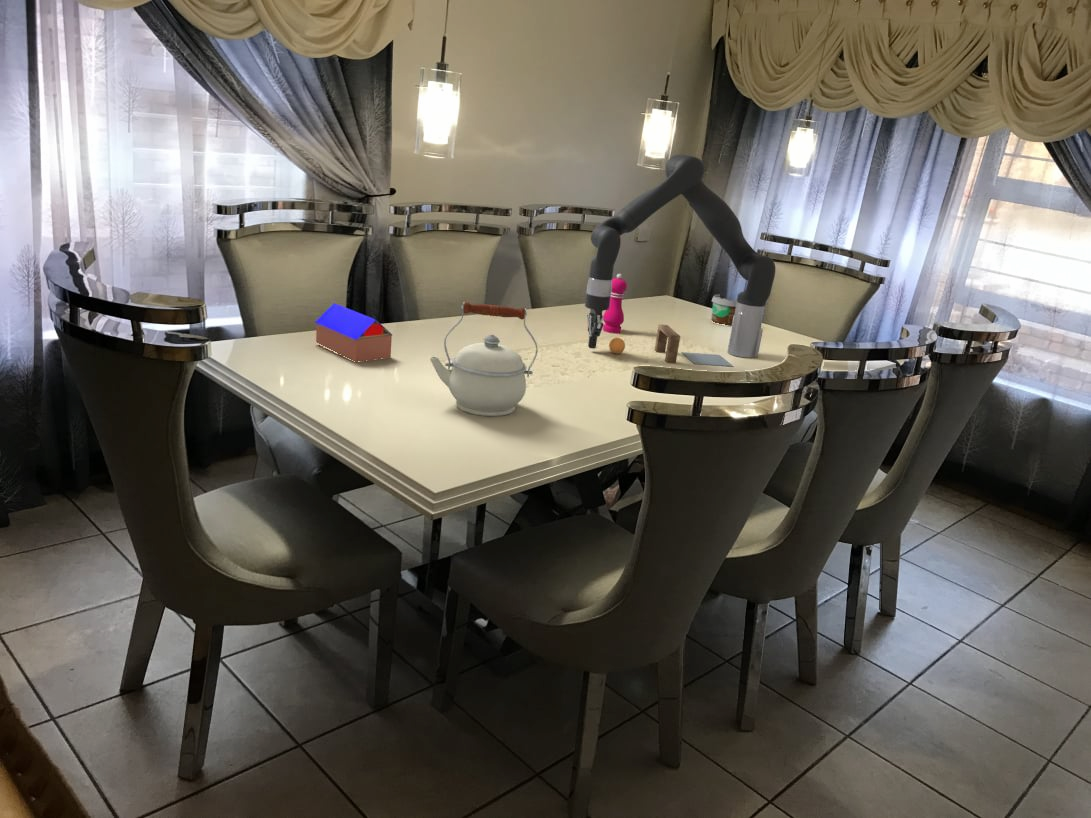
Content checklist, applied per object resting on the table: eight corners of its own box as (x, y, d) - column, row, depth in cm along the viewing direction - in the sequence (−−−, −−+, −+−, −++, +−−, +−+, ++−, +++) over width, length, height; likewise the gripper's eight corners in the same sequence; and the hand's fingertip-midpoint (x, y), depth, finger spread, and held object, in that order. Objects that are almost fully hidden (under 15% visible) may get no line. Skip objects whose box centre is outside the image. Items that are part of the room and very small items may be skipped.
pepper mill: (598, 330, 294) (605, 272, 287) (606, 327, 300) (614, 270, 293) (617, 334, 291) (625, 276, 284) (625, 331, 297) (633, 274, 290)
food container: (701, 319, 332) (706, 293, 329) (714, 319, 334) (719, 294, 331) (720, 327, 321) (725, 301, 318) (733, 327, 324) (738, 301, 321)
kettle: (530, 399, 213) (540, 301, 205) (531, 424, 196) (543, 318, 188) (430, 389, 212) (437, 291, 204) (422, 413, 194) (429, 307, 187)
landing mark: (719, 355, 279) (719, 354, 279) (733, 366, 267) (733, 366, 267) (681, 352, 277) (681, 352, 276) (693, 364, 264) (694, 363, 264)
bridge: (663, 351, 276) (667, 325, 273) (675, 363, 263) (680, 336, 260) (654, 350, 275) (658, 324, 273) (666, 362, 262) (671, 335, 260)
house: (355, 364, 226) (357, 321, 222) (314, 345, 239) (315, 304, 235) (392, 359, 234) (394, 317, 231) (350, 341, 247) (352, 301, 243)
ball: (621, 351, 269) (624, 336, 268) (625, 356, 264) (627, 340, 263) (606, 350, 268) (608, 335, 267) (609, 355, 264) (612, 339, 262)
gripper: (615, 298, 254) (608, 354, 259) (606, 289, 266) (599, 343, 271) (591, 296, 252) (584, 352, 258) (582, 287, 265) (576, 341, 270)
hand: (591, 347), depth 265 cm, fingers closed
